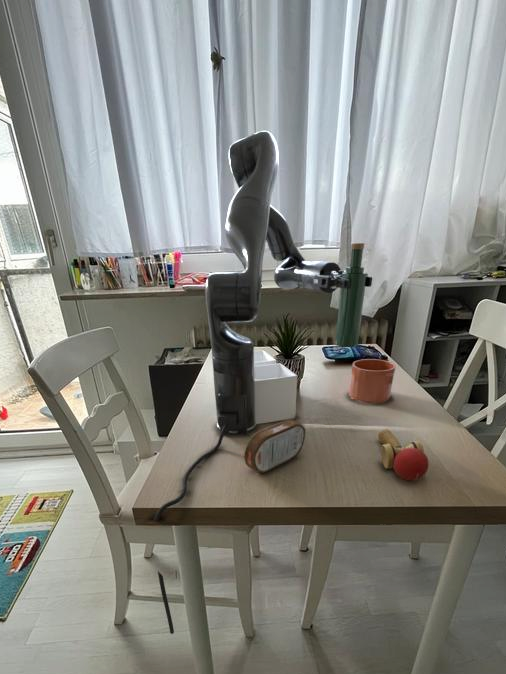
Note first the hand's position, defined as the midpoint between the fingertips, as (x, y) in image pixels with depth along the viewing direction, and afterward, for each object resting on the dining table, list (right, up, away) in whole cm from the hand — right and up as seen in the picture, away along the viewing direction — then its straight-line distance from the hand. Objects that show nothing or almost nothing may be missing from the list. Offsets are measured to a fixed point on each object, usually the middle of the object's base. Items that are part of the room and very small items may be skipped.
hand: (359, 282), depth 94 cm
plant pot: (+7, -25, +14) cm, 29 cm away
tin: (-21, -45, -15) cm, 52 cm away
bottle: (-1, -11, +10) cm, 15 cm away
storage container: (-24, -27, +13) cm, 38 cm away
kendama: (+3, -44, -15) cm, 47 cm away
